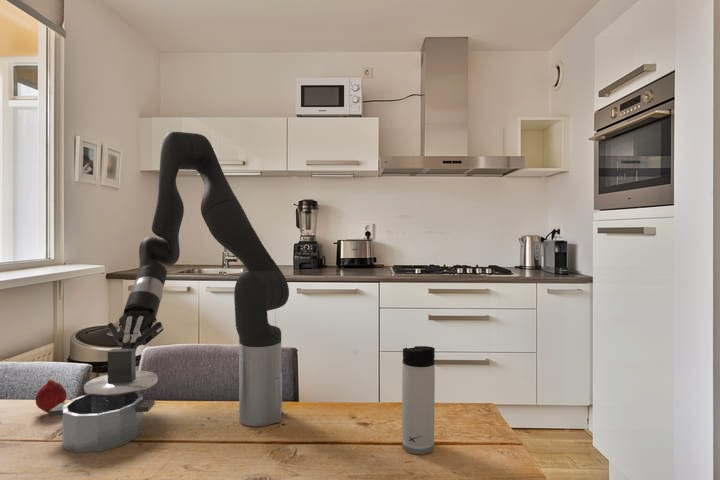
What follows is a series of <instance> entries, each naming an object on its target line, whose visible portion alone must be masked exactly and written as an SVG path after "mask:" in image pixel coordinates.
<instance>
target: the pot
mask: <svg viewBox="0 0 720 480" xmlns="http://www.w3.org/2000/svg"><path fill="white" fill-rule="evenodd" d="M155 403H156V399H153V398H152V399H144V396H143V394H142V392H141V391H139V392H135V393H131V394H126V395H119V396H108V397H101V396H91V395H88V394H86V393H85V394H84V395H81V396H78V397H75V398H72V399H70V400H69V401H68V402H64V403H60V404H58V405H57V406H56V407H54V408H53V409H51V410H50V414H49V417H53V416H56V417H57V416H61V417H62V418H61V419H62V420H61V421H62V422H61V424H62V425H61V426H62V428H61V430H62V446H63V450H67V451H69V452H74V453H77V454H78V453H79V454H80V453H99V452H101V451H103V452H104V451H106V450H109V449H110V450H111V449H114V448H118V447H121V446H123V445H125V444H127V443H128V442H131V441H133V440H135V439H137V438H138V437H139V435H141V433H142V432H143V431H144V413H145V412H147V413H149V411H150V410H151V409H152V408H153V407H154V406H155V405H156V404H155Z"/></svg>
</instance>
